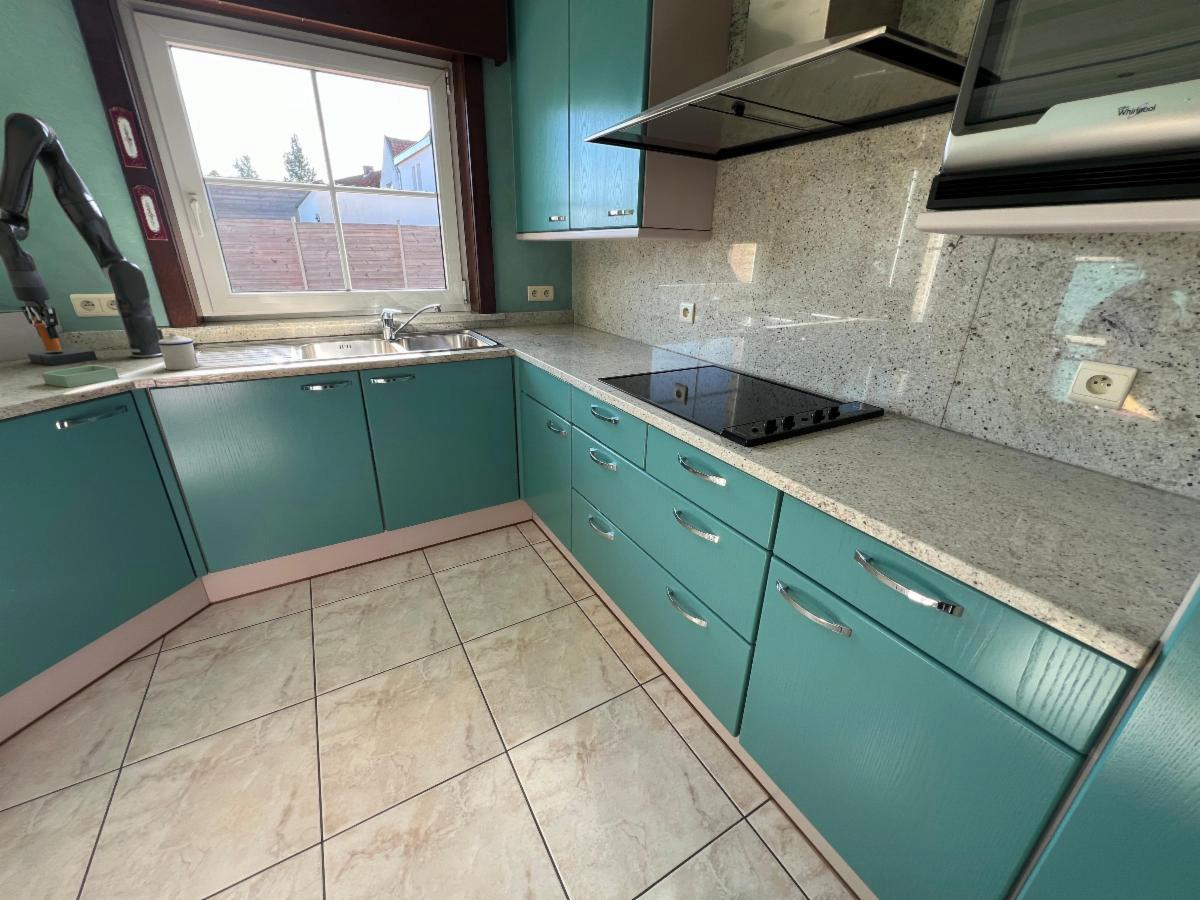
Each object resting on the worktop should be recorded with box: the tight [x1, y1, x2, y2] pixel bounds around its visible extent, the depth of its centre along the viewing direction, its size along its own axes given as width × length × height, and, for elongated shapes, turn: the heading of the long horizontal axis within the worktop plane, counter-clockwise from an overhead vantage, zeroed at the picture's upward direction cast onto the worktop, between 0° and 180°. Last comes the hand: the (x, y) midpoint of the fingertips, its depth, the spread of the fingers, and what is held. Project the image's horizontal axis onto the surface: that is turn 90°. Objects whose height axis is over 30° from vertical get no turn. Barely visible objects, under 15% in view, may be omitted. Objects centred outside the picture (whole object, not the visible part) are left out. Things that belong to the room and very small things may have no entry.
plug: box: [32, 323, 62, 351], centre depth 166 cm, size 5×5×9 cm
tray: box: [41, 364, 119, 388], centre depth 146 cm, size 12×10×3 cm
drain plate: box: [27, 347, 98, 366], centre depth 170 cm, size 12×12×3 cm
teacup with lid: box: [158, 331, 200, 371], centre depth 164 cm, size 12×9×12 cm
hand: (49, 337), depth 166 cm, fingers closed on plug, 4 cm apart
